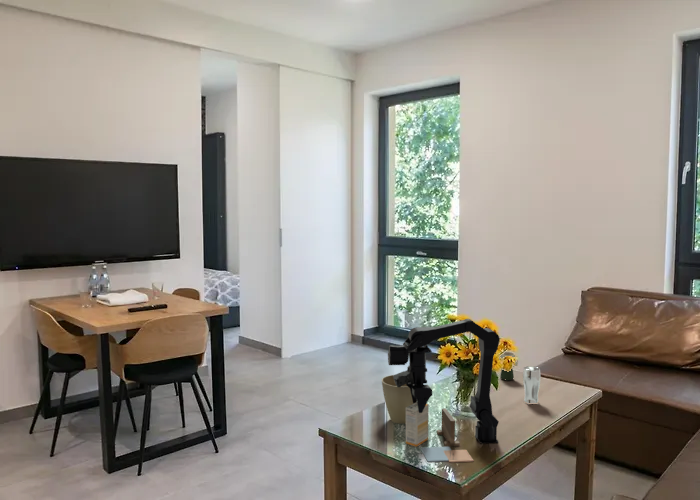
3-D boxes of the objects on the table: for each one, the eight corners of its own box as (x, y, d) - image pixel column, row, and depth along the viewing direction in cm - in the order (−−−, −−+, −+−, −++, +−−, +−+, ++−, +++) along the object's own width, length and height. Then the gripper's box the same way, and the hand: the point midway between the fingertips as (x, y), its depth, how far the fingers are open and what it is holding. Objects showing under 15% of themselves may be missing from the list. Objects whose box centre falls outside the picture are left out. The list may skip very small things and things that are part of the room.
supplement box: (417, 436, 198) (417, 400, 197) (428, 439, 195) (429, 403, 194) (404, 443, 192) (405, 407, 191) (416, 447, 189) (416, 410, 188)
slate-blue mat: (449, 447, 189) (449, 446, 189) (457, 460, 179) (457, 459, 179) (420, 448, 188) (420, 447, 188) (427, 462, 178) (427, 460, 178)
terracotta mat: (466, 450, 186) (466, 449, 186) (473, 461, 178) (473, 460, 178) (443, 451, 185) (443, 450, 185) (449, 462, 177) (449, 461, 177)
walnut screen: (450, 432, 202) (450, 408, 201) (459, 445, 190) (460, 420, 189) (436, 432, 201) (437, 408, 201) (445, 446, 189) (445, 421, 189)
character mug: (521, 380, 263) (521, 354, 262) (513, 384, 258) (513, 357, 257) (501, 376, 271) (501, 350, 270) (493, 378, 266) (493, 352, 265)
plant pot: (375, 423, 210) (375, 383, 209) (389, 411, 223) (389, 372, 222) (412, 430, 203) (413, 388, 202) (424, 417, 217) (425, 377, 216)
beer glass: (541, 402, 234) (542, 367, 233) (537, 407, 228) (538, 371, 227) (525, 399, 238) (525, 365, 237) (520, 403, 232) (521, 369, 231)
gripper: (390, 358, 200) (390, 399, 201) (399, 373, 182) (399, 418, 183) (420, 357, 201) (420, 398, 202) (432, 371, 183) (432, 417, 184)
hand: (417, 408), depth 193 cm, fingers open, 9 cm apart
